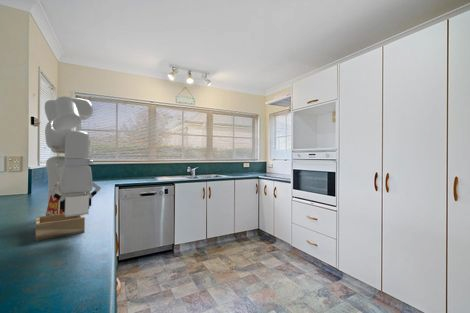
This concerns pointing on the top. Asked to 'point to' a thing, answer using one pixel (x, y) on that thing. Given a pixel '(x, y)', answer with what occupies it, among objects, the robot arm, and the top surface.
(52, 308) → the top surface
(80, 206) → the cream crate
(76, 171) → the robot arm
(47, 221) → the pine crate
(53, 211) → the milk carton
